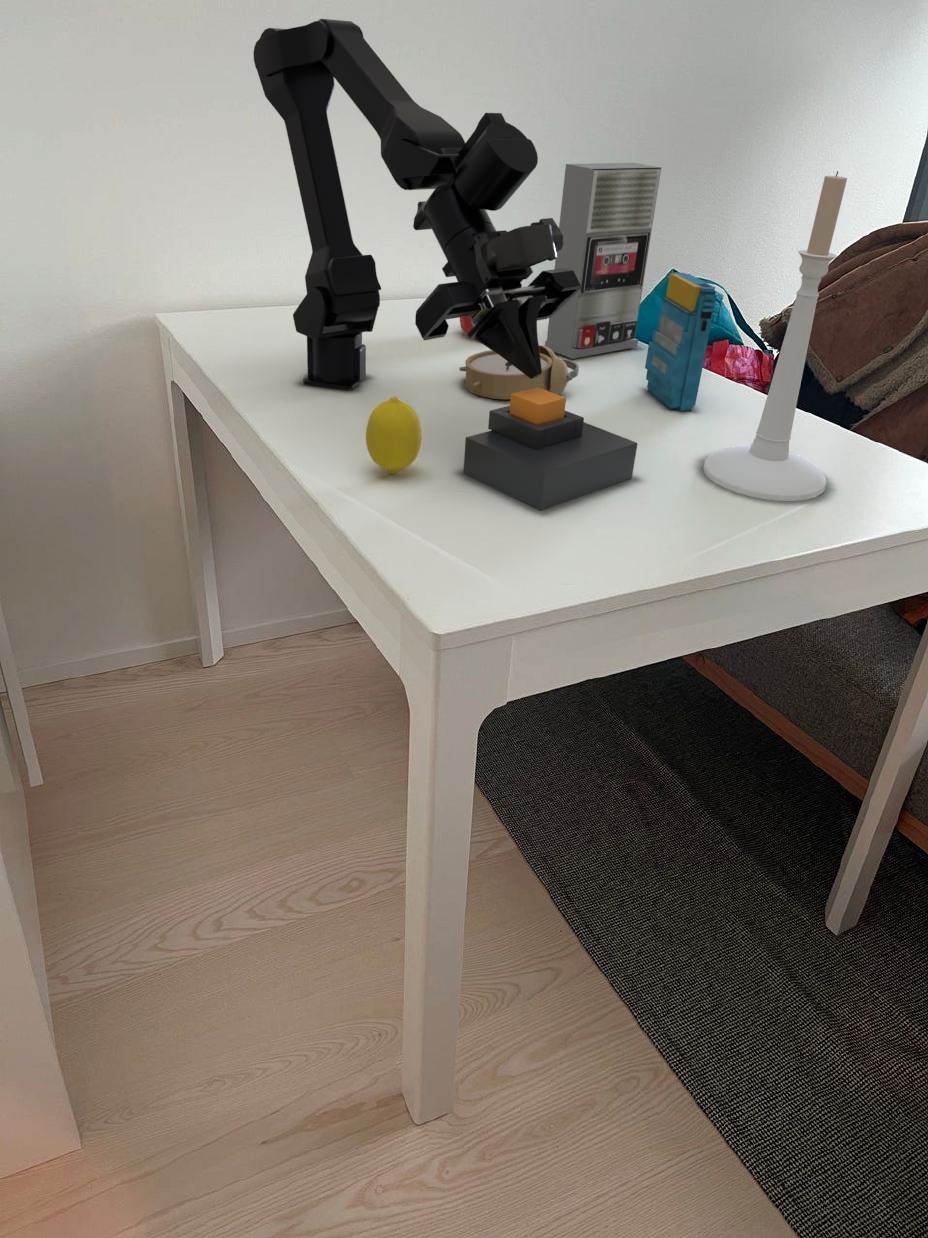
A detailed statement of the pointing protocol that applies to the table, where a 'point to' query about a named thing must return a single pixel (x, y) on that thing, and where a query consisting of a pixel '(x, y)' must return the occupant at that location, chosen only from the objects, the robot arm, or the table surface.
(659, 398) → the handheld gaming console
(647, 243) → the cassette tape recorder
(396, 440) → the lemon
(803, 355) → the candlestick
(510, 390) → the alarm clock
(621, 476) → the push button
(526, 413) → the key
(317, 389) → the table surface
